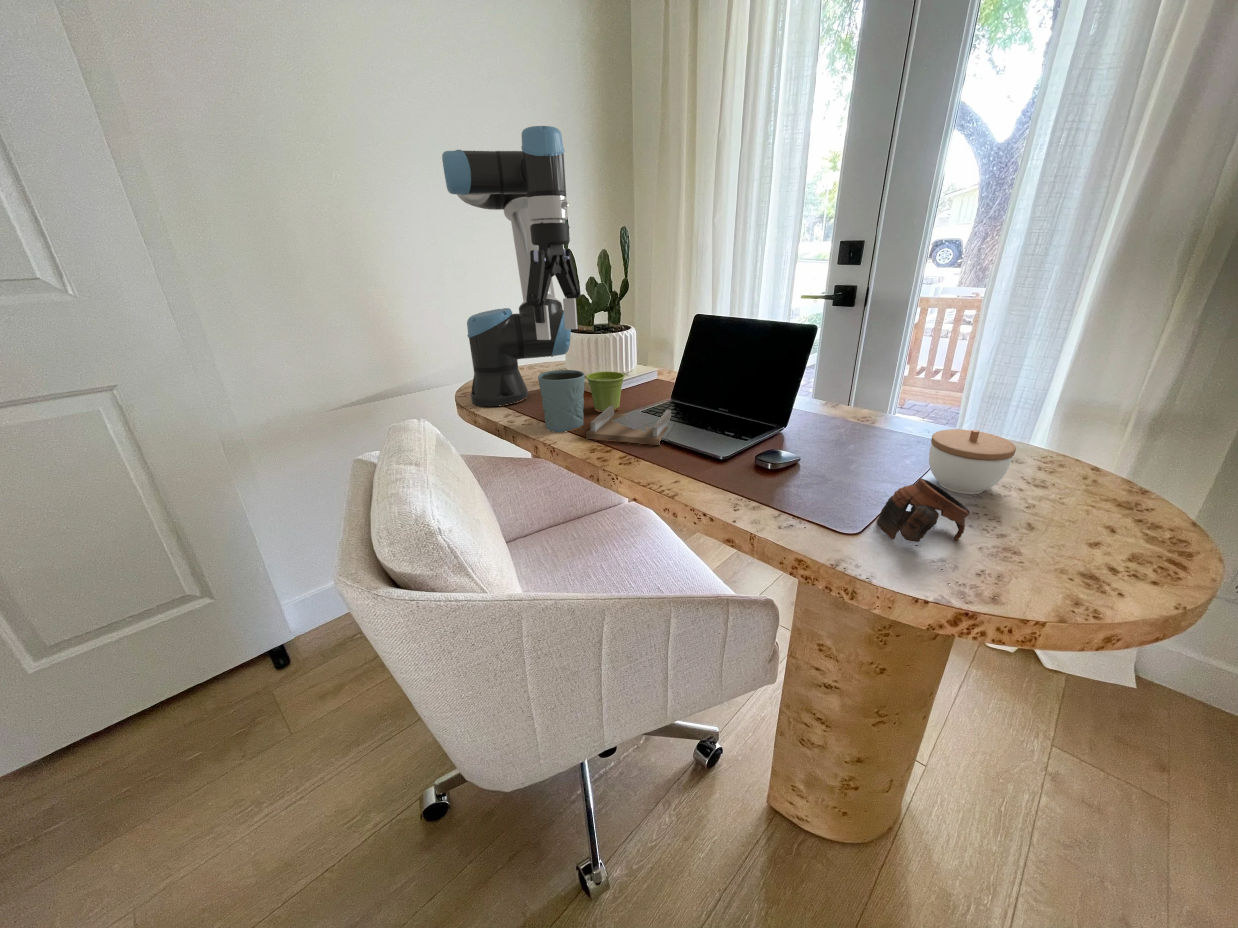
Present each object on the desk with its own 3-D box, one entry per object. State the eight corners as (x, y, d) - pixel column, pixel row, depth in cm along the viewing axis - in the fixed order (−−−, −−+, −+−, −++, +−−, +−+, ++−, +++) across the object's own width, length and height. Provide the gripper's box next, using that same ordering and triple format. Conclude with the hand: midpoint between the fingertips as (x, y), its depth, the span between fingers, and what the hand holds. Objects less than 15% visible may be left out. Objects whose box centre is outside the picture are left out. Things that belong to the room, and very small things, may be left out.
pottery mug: (873, 511, 73) (912, 468, 70) (932, 553, 70) (976, 510, 67) (866, 530, 63) (912, 480, 60) (935, 580, 60) (988, 531, 56)
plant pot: (610, 402, 128) (608, 369, 125) (633, 409, 122) (632, 375, 118) (580, 409, 123) (578, 375, 119) (604, 418, 116) (602, 382, 113)
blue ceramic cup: (534, 428, 111) (528, 376, 106) (563, 416, 119) (559, 367, 114) (567, 436, 106) (563, 382, 101) (596, 423, 113) (593, 372, 108)
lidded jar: (1016, 503, 73) (1035, 445, 69) (936, 499, 75) (950, 442, 71) (982, 473, 82) (998, 420, 78) (912, 470, 84) (924, 418, 80)
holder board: (586, 439, 104) (585, 423, 102) (608, 418, 116) (608, 404, 114) (659, 446, 99) (659, 429, 97) (675, 423, 111) (675, 409, 109)
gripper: (536, 219, 83) (548, 345, 92) (590, 223, 105) (596, 325, 113) (498, 221, 86) (513, 344, 94) (558, 225, 107) (566, 325, 116)
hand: (558, 334), depth 104 cm, fingers open, 13 cm apart
